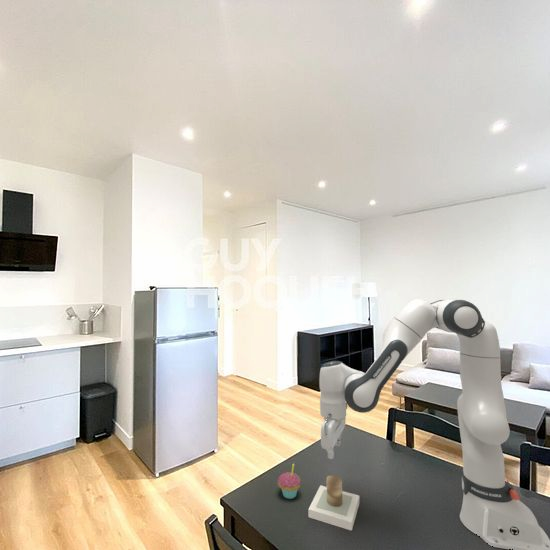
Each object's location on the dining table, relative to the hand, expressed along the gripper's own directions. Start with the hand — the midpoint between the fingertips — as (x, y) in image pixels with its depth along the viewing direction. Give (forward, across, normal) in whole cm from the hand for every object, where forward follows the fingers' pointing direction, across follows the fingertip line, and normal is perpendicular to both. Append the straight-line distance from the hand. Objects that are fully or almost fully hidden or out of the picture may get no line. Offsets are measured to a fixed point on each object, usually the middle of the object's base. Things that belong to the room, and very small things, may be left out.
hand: (334, 451), depth 104 cm
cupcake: (+19, +1, +18) cm, 26 cm away
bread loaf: (+16, 0, 0) cm, 16 cm away
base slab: (+19, 0, 0) cm, 19 cm away
